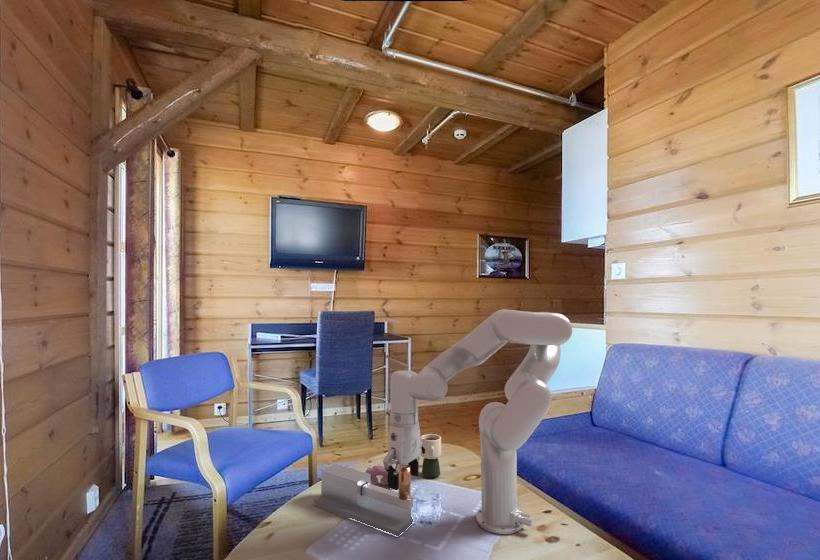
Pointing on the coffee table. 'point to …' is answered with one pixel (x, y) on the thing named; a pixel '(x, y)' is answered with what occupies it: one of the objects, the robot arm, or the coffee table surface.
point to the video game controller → (378, 471)
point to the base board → (371, 514)
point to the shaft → (392, 497)
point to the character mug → (431, 454)
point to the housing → (344, 485)
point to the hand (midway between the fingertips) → (403, 481)
